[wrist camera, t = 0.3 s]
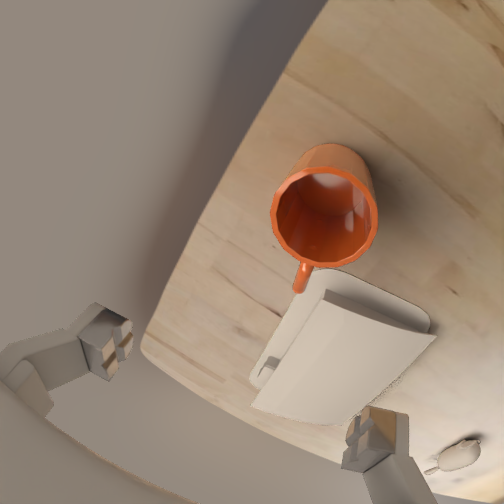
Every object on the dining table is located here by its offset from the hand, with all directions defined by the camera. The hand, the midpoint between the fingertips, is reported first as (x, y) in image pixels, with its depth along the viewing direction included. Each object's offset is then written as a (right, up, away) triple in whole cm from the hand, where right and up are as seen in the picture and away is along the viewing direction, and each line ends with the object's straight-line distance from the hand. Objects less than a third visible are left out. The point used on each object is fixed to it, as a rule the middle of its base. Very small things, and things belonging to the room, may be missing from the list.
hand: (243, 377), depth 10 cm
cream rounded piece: (+36, -31, +30) cm, 56 cm away
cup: (+7, +8, +17) cm, 20 cm away
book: (+10, -9, +26) cm, 29 cm away
